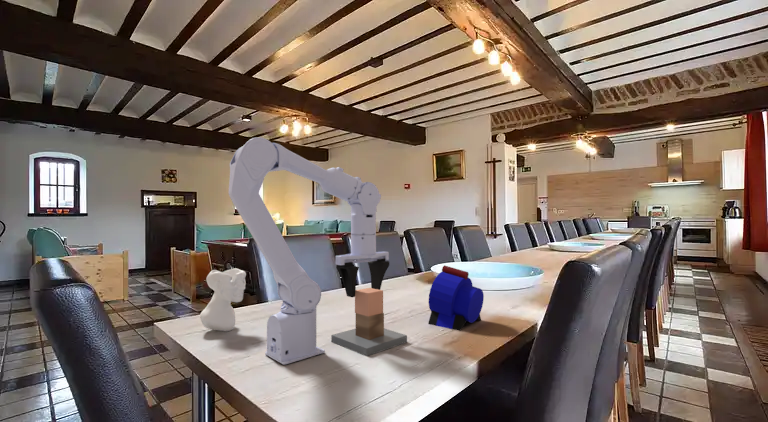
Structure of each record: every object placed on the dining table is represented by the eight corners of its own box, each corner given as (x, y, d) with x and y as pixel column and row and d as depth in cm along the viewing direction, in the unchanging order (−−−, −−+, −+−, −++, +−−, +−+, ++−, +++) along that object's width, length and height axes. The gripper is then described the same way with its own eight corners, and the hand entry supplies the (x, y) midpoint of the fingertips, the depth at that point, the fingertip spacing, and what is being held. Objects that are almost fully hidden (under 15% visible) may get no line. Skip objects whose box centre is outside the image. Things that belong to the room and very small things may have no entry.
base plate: (366, 356, 73) (366, 348, 73) (331, 341, 82) (331, 335, 82) (406, 342, 81) (406, 335, 81) (371, 330, 90) (371, 324, 90)
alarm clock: (448, 314, 106) (447, 262, 106) (488, 321, 98) (488, 266, 98) (425, 323, 96) (425, 267, 96) (468, 333, 88) (468, 271, 89)
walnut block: (368, 340, 78) (368, 316, 78) (355, 335, 82) (355, 312, 82) (383, 335, 81) (383, 313, 82) (370, 331, 85) (370, 309, 85)
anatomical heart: (220, 323, 96) (220, 266, 97) (257, 327, 93) (257, 268, 93) (191, 334, 87) (192, 271, 87) (231, 338, 84) (231, 273, 84)
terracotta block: (368, 316, 79) (368, 293, 79) (354, 312, 82) (354, 290, 82) (383, 312, 82) (383, 290, 82) (369, 309, 85) (369, 287, 85)
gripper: (349, 236, 76) (349, 301, 75) (397, 234, 86) (398, 291, 86) (329, 235, 81) (329, 296, 80) (377, 233, 91) (377, 287, 91)
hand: (363, 294), depth 83 cm, fingers open, 7 cm apart
